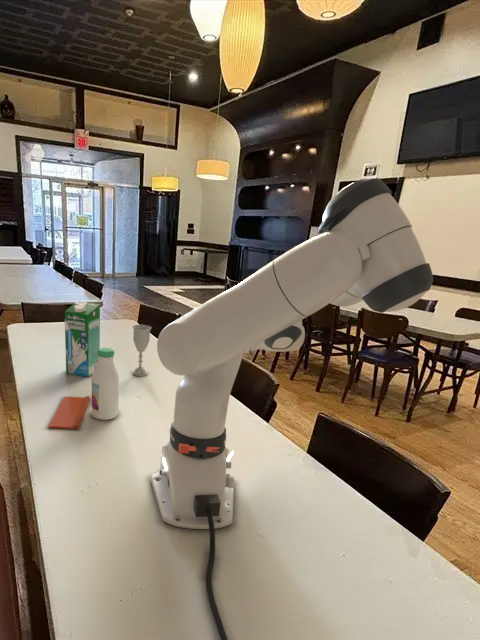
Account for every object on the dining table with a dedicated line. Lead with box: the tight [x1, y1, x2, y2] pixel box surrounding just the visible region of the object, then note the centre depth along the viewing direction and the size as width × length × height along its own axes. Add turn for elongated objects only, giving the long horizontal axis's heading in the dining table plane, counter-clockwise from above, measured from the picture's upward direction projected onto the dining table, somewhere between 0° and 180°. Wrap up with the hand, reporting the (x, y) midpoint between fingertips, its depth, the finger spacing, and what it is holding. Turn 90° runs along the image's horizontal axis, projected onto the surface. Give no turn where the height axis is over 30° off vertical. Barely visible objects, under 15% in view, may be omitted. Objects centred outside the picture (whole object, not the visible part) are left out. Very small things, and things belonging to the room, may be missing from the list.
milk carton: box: [64, 300, 101, 378], centre depth 149 cm, size 9×9×25 cm
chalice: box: [132, 324, 152, 377], centre depth 152 cm, size 7×7×18 cm
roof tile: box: [48, 395, 91, 430], centre depth 121 cm, size 20×8×1 cm, turn 2°
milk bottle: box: [91, 347, 120, 421], centre depth 118 cm, size 8×8×20 cm
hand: (193, 330), depth 113 cm, fingers closed
